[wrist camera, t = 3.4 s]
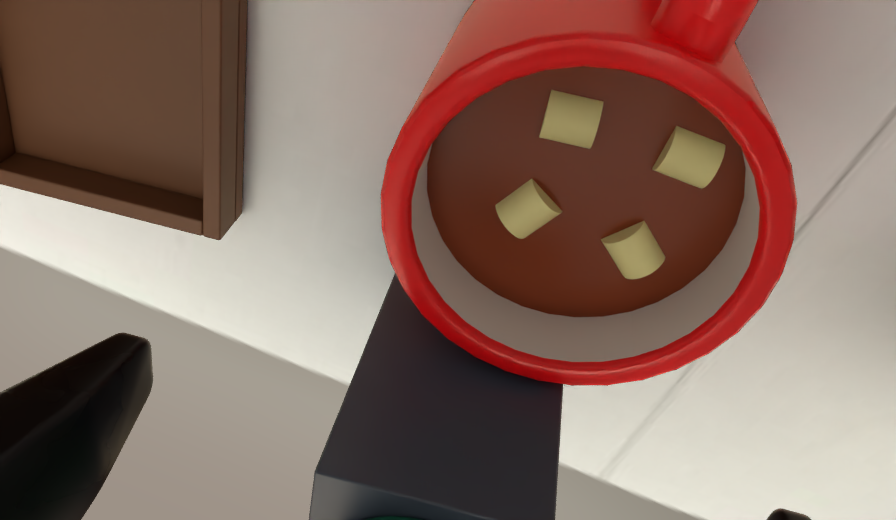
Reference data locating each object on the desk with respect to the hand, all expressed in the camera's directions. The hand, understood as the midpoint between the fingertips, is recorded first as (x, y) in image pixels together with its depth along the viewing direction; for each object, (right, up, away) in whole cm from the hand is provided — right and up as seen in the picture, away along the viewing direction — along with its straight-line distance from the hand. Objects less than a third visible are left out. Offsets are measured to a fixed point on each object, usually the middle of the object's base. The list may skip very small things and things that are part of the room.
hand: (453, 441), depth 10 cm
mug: (+4, +9, +9) cm, 14 cm away
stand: (+1, +2, +14) cm, 14 cm away
